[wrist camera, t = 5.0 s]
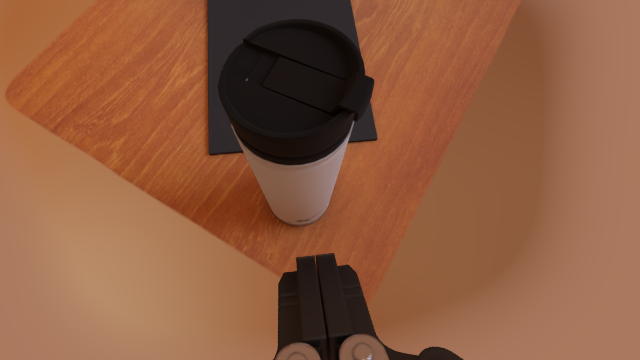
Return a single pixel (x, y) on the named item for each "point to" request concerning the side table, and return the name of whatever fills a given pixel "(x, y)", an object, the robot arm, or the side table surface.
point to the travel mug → (295, 110)
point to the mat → (229, 31)
